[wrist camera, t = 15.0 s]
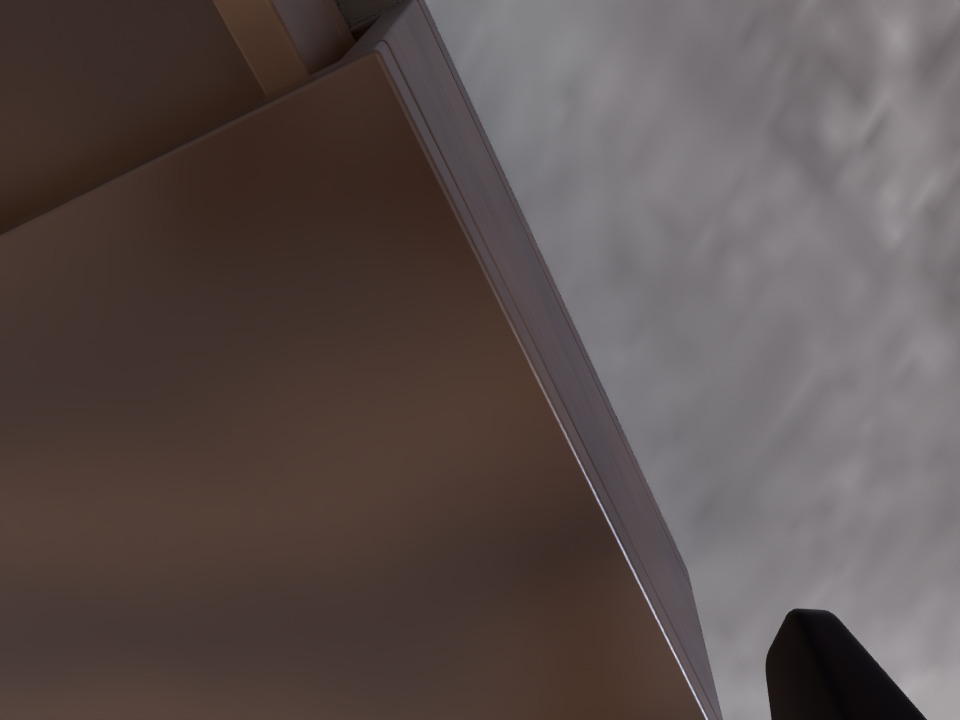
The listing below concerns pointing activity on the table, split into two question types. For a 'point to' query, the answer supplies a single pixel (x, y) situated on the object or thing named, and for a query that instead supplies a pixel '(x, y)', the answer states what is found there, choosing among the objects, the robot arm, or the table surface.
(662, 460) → the table surface
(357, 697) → the organiser
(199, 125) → the drawer
